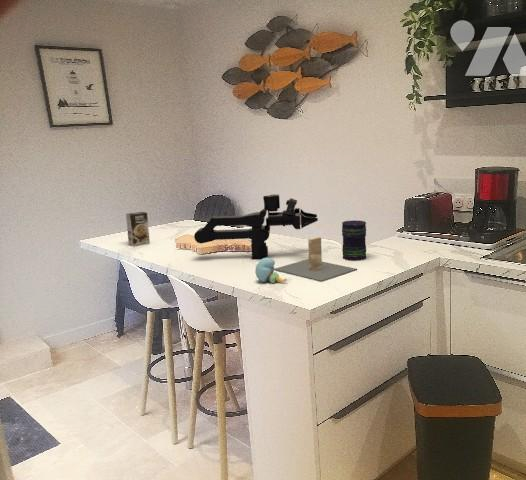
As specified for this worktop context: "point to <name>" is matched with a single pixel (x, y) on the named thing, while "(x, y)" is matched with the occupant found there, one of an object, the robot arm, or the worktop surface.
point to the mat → (320, 274)
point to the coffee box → (137, 228)
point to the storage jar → (354, 240)
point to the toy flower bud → (267, 271)
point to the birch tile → (315, 253)
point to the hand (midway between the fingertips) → (317, 217)
